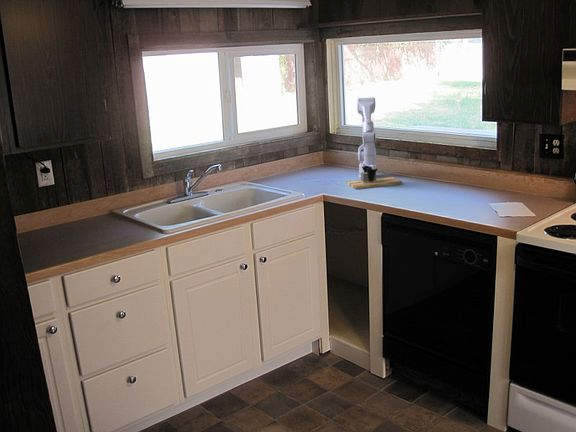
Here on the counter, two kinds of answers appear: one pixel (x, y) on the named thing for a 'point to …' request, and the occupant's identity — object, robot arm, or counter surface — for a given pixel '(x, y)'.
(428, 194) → the counter surface
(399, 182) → the board
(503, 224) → the counter surface
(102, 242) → the counter surface
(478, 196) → the counter surface
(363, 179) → the block
